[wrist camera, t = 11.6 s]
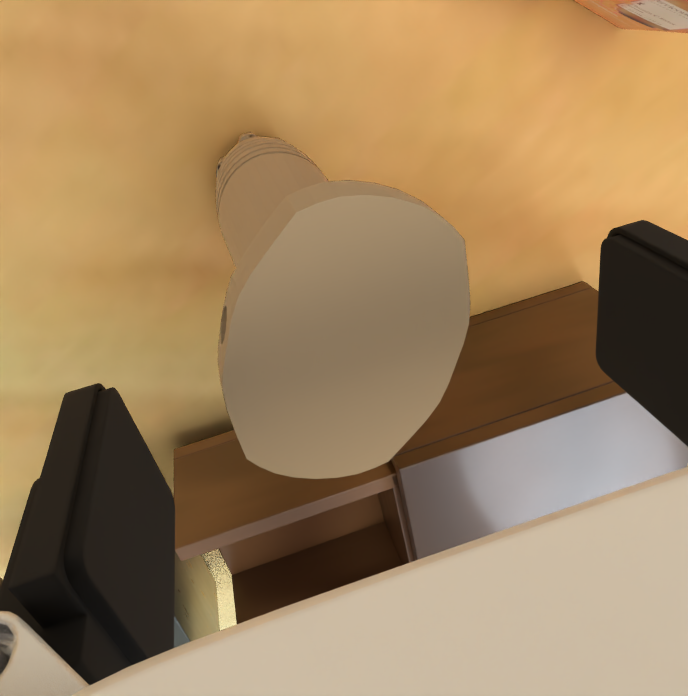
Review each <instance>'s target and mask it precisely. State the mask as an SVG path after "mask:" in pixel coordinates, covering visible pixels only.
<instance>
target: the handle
mask: <svg viewBox="0 0 688 696" xmlns="http://www.w3.org/2000/svg"><path fill="white" fill-rule="evenodd" d="M216 178H217V181H216V207H217V215H218V220H219V225H220V229H221V233H222V236H223V238H224V241H225V243H226V245H227V248H228V250H229V253H230V255H231V257H232V260H233V262H234V265H235V267H236V269H235V270H234V272H233V274H232V276H231V279H230V282H229V285H228V289H227V292H226V297H225V301H224V306H223V311H222V319H221V327H220V335H219V345H218V366H219V375H220V381H221V386H222V391H223V395H224V400H225V404H226V409H227V412H228V415H229V417H230V420H231V422H232V425H233V428H234V430H235V433H236V435H237V438H238V440H239V442H240V445H241V447H242V449H243V452H244V454H245V456H246V459H248V460H249V461H251V462H253V463H254V464H256V465H257V466H259V467H261V468H264V469H266V470H268V471H271V472H273V473H276V474H280V475H285V476H290V477H295V478H309V479H324V478H339V477H344V476H350V475H355V474H359V473H362V472H365V471H368V470H370V469H373V468H376V467H378V466H380V465H382V464H384V463H386V462H389V460H390V459H391V458H392V457H393V456H394V455H395V454H396V453H397V452H398V451H399V450H400V449H401V448H402V447H403V446H404V444H405V443H406V442H407V441H408V440H409V439H410V438H411V437H412V436H413V435H414V434H415V433H416V431H417V430H418V429H419V428H420V427H421V426H422V425H423V424H424V422H425V421H426V420H427V419H428V418H429V416H430V415H431V414H432V412H433V411H434V410H435V408H436V407H437V405H438V404H439V403H440V401H441V399H442V397H443V395H444V392H445V390H446V388H447V386H448V384H449V382H450V379H451V376H452V374H453V371H454V368H455V366H456V363H457V360H458V358H459V355H460V352H461V350H462V347H463V344H464V341H465V337H466V333H467V329H468V326H469V317H470V292H469V278H468V268H467V258H466V249H465V240H464V239H463V238H462V236H461V235H460V234H459V233H458V232H457V230H456V229H455V228H454V227H453V226H452V225H451V224H450V223H448V222H447V221H446V220H445V219H444V218H443V217H441V216H440V215H439V214H438V213H437V212H435V211H434V210H433V209H432V208H430V207H429V206H428V205H426V204H425V203H424V202H422V201H421V200H418V199H416V198H414V197H412V196H410V195H408V194H406V193H404V192H402V191H400V190H398V189H395V188H391V187H387V186H384V185H380V184H377V183H371V182H361V181H351V180H345V181H330V182H329V181H328V180H327V178H326V177H325V176H324V174H323V173H322V172H321V170H320V169H319V168H318V167H317V166H316V165H315V164H314V163H313V162H312V161H311V160H310V159H309V158H308V157H307V156H306V155H305V154H304V153H302V152H301V151H299V150H298V149H297V148H295V147H294V146H292V145H290V144H288V143H286V142H285V141H283V140H282V139H280V138H271V137H258V136H256V135H254V134H253V133H251V132H249V133H245V134H242V135H240V136H239V141H238V143H237V144H236V145H235V146H234V147H233V148H232V149H231V150H230V151H229V152H228V153H227V154H226V156H225V157H221V158H220V160H219V162H218V165H217V170H216Z"/></svg>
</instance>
